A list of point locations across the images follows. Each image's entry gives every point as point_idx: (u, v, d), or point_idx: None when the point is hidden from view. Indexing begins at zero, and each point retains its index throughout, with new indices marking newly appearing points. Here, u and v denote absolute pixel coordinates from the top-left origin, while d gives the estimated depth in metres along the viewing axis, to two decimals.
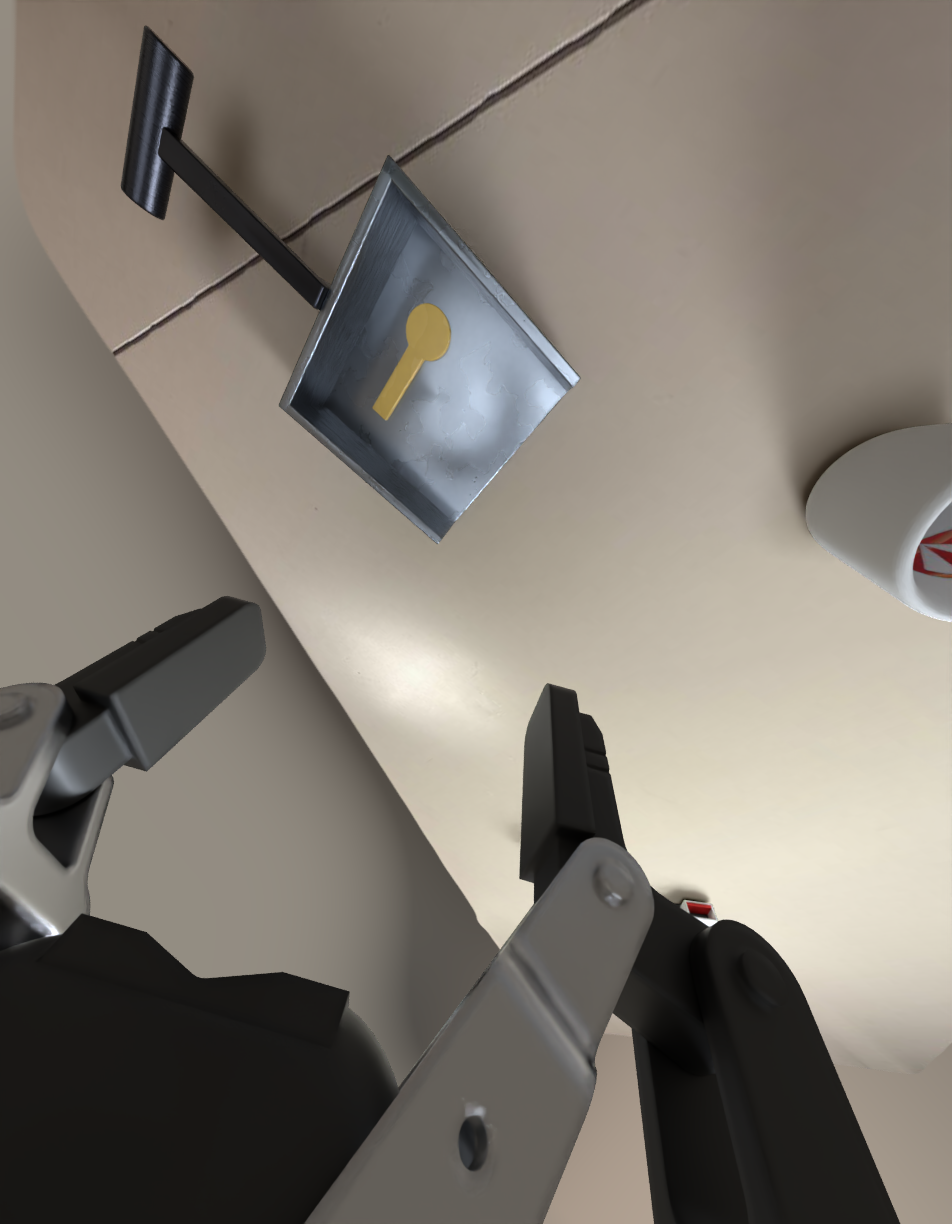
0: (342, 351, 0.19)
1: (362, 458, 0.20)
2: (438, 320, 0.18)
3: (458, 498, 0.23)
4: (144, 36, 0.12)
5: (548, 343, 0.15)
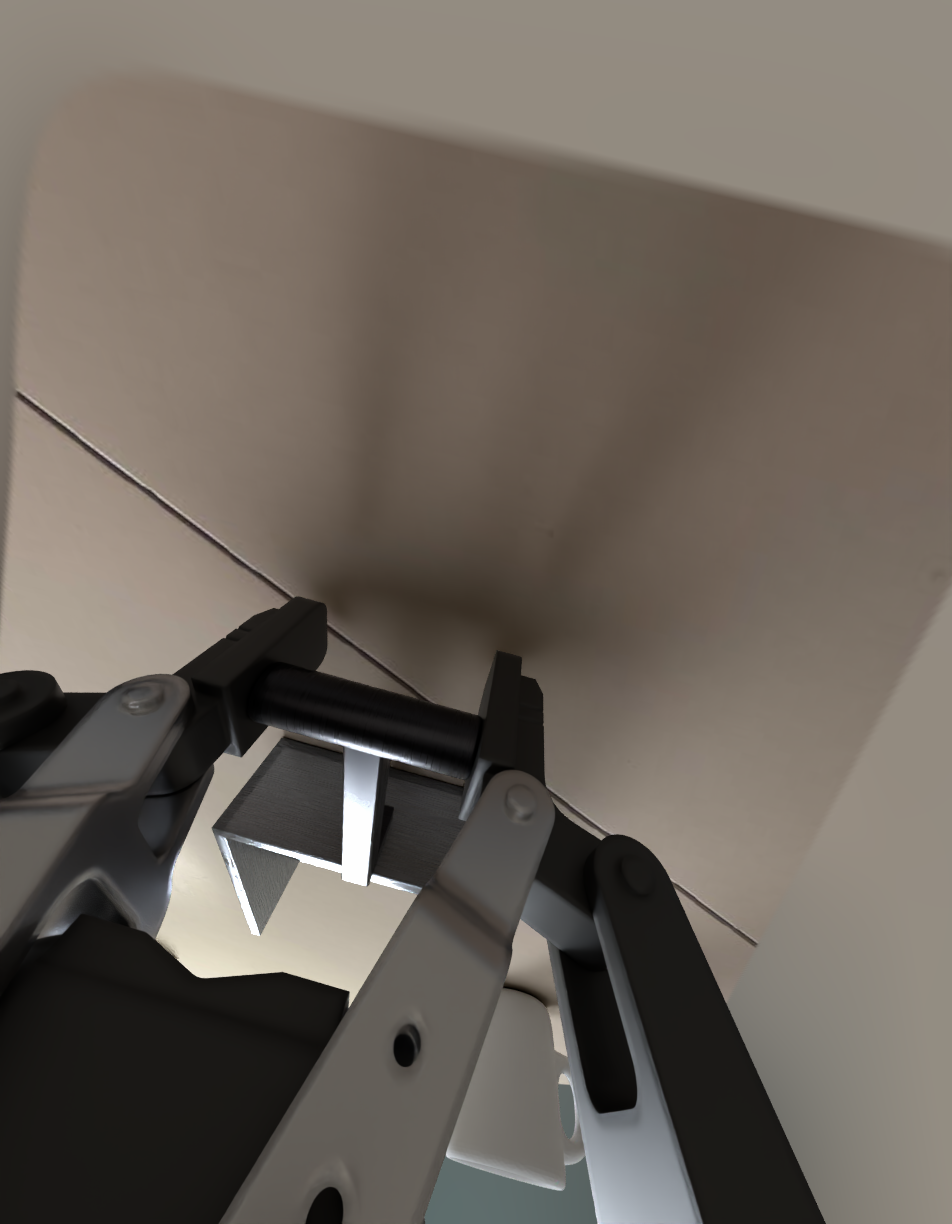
0: None
1: (260, 857, 0.16)
2: None
3: None
4: (461, 758, 0.07)
5: None
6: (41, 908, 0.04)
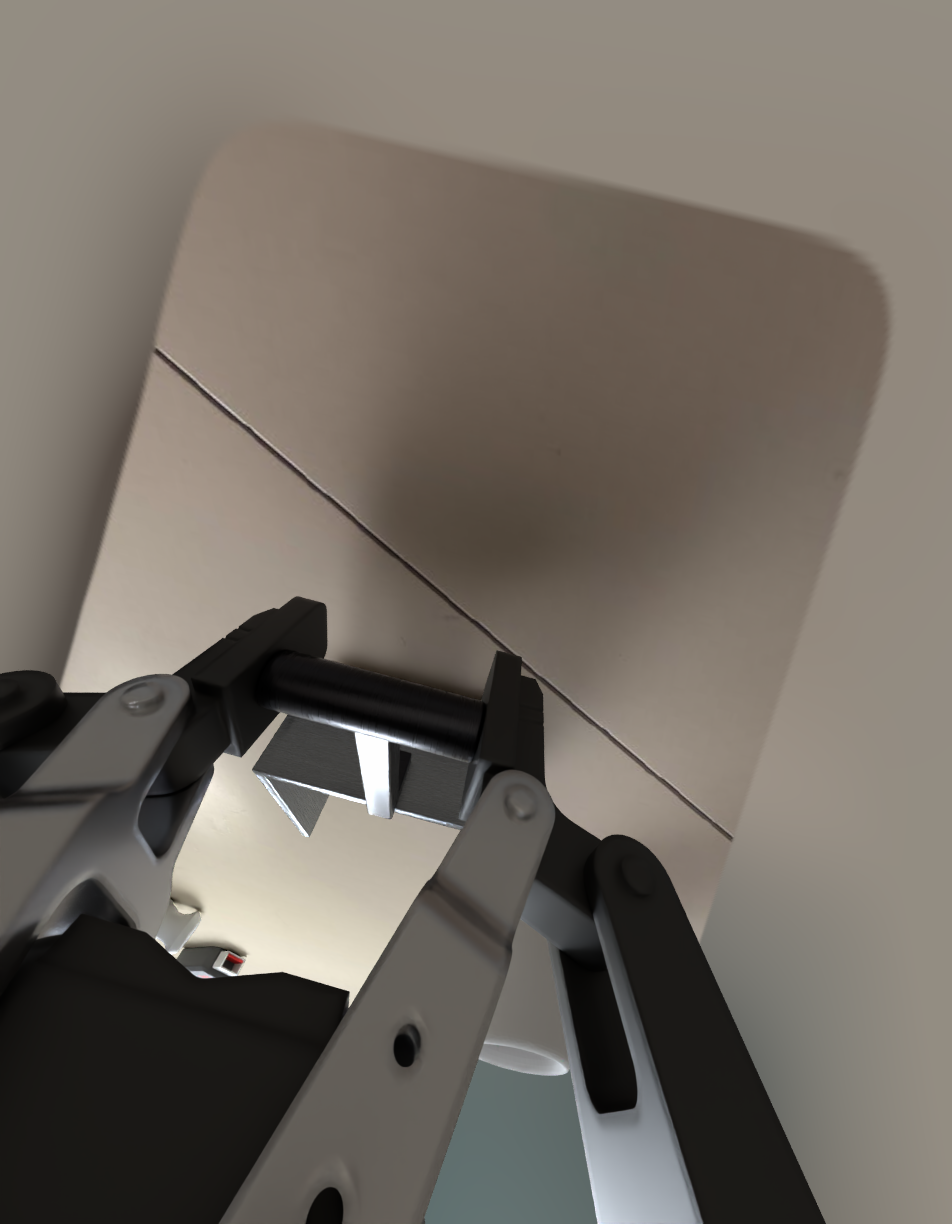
0: None
1: None
2: None
3: None
4: (463, 747, 0.07)
5: None
6: (41, 908, 0.04)
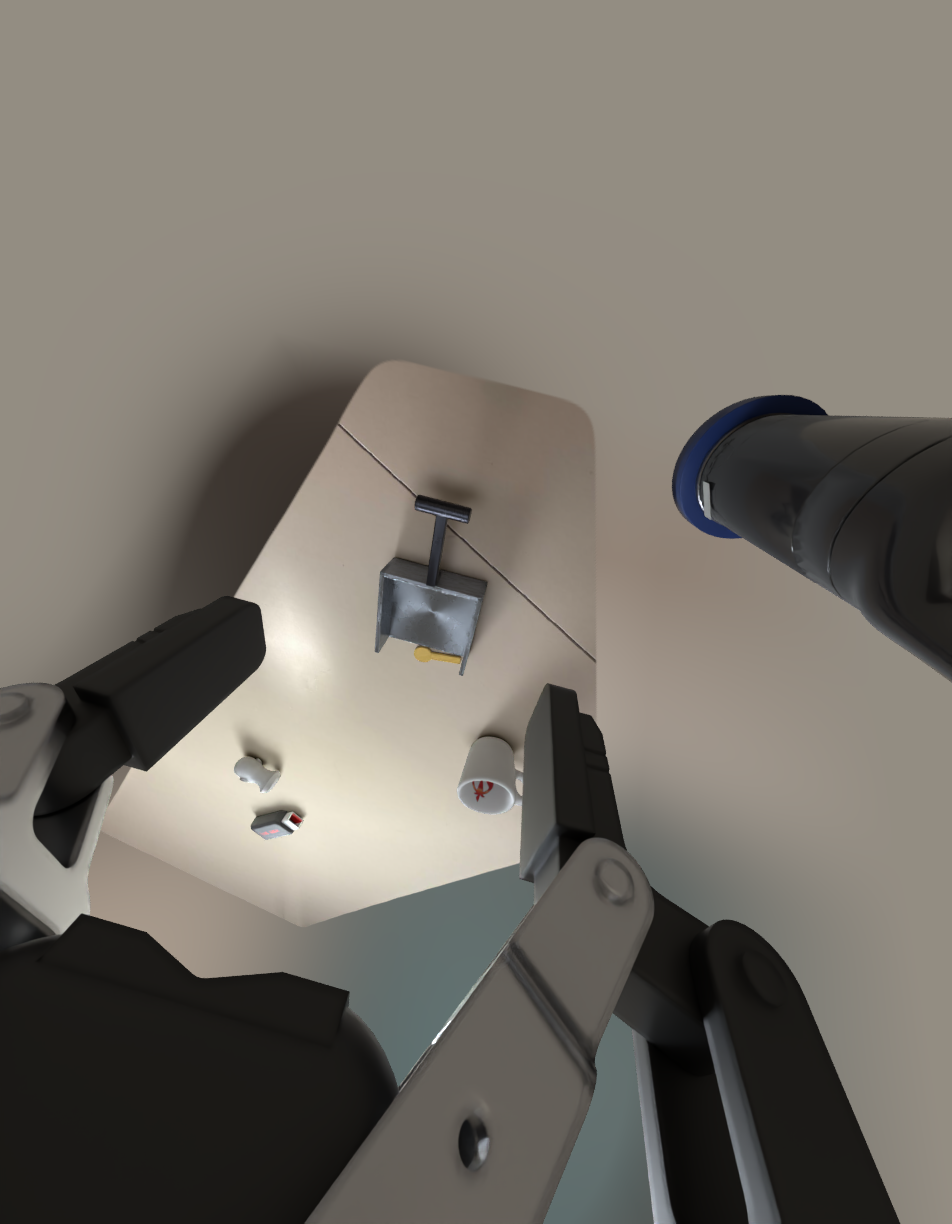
0: None
1: (385, 604, 0.39)
2: None
3: (400, 634, 0.44)
4: (466, 513, 0.31)
5: (465, 663, 0.40)
6: None
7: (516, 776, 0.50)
